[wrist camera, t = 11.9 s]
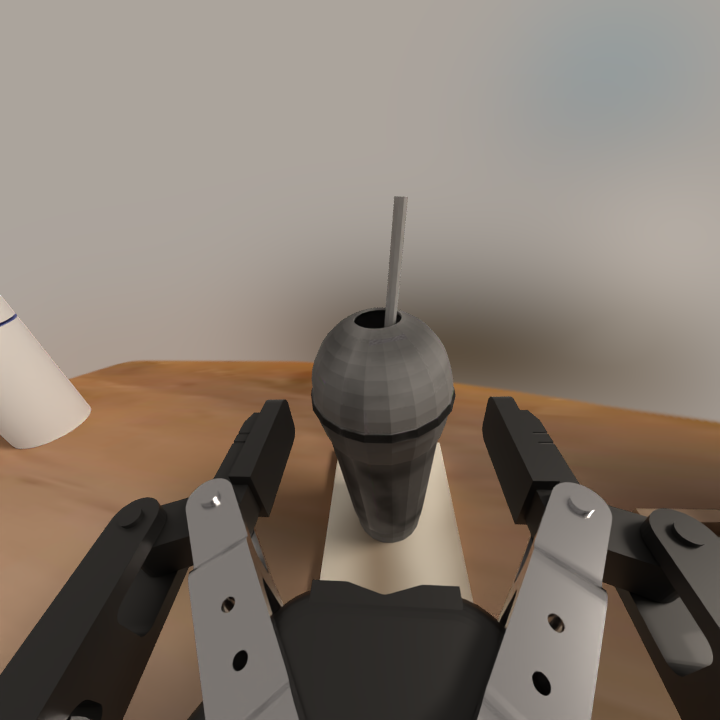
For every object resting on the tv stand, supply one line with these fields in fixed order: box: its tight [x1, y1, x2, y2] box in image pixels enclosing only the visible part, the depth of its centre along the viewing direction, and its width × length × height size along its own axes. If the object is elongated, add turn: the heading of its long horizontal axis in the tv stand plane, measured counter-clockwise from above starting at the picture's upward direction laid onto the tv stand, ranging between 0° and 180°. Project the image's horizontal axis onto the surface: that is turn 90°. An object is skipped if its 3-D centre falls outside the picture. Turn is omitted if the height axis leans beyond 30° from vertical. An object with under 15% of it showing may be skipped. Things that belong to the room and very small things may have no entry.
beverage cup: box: [311, 197, 455, 543], centre depth 16 cm, size 7×7×20 cm
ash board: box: [320, 443, 473, 603], centre depth 22 cm, size 9×12×1 cm
